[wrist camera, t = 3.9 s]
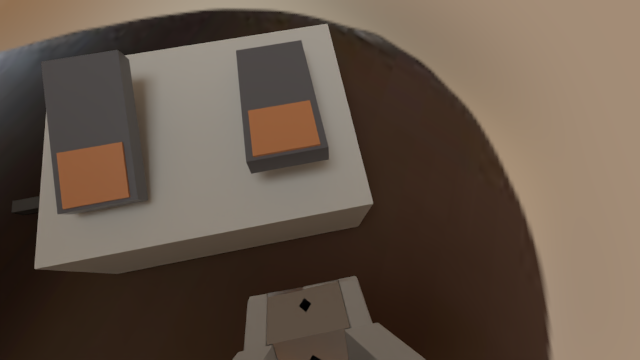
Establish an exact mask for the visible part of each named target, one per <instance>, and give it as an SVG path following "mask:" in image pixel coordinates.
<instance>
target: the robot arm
mask: <svg viewBox="0 0 640 360" xmlns="http://www.w3.org/2000/svg"><path fill="white" fill-rule="evenodd" d="M233 360H426V359H424V358H423V357H422V356H421V355H419V354H418V353H417V352H415V351H414V350H413V349H412V348H410V347H409V346H408V345H406V344H405V343H404V342H403V341H401V340H400V339H399V338H397V337H396V336H395V335H393V334H392V333H391V332H390V331H388V330H387V329H386V328H384V327H383V326H382V325H381V324H379V323H372V320H371V318H370V315H369V312H368V309H367V306H366V303H365V300H364V297H363V294H362V291H361V288H360V285H359V282H358V279H357V277H356V276H351V277H347V278H342V279H338V280H333V281H328V282H323V283H318V284H314V285H309V286H304V287H300V288H295V289H289V290H283V291H278V292H272V293H268V294H263V295H257V296H251V297H250V298H249V300H248V306H247V317H246V329H245V341H244V351H241V352H238V353H237V354H236V355H235V357H234V358H233Z"/></svg>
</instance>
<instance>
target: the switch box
mask: <svg viewBox="0 0 640 360" xmlns="http://www.w3.org/2000/svg"><path fill="white" fill-rule="evenodd" d="M298 40H301V41H302V45H303V49H304V52H305V56H306V60H307V64H308V68H309V72H310V76H311V80H312V84H313V88H314V92H315V96H316V100H317V104H318V107H319V111H320V115H321V119H322V123H323V127H324V131H325V135H326V139H327V143H328V147H329V160H323V161H318V162H313V163H307V164H302V165H296V166H291V167H285V168H280V169H274V170H269V171H263V172H258V173H253V174H251V172H250V170H249V167H248V165H247V163H246V155H245V144H244V133H243V122H242V111H241V101H240V90H239V79H238V68H237V57H236V50H242V49H248V48H255V47H261V46H267V45H273V44H280V43H286V42H292V41H298ZM125 57H127V58H128V59H129V63H130V70H131V77H132V85H133V92H134V99H135V107H136V114H137V121H138V127H139V132H140V135H139V136H140V143H141V150H142V157H143V165H144V172H145V179H146V187H147V194H148V201H143V202H137V203H132V204H126V205H121V206H116V207H110V208H105V209H99V210H94V211H89V212H83V213H78V214H57V205H56V196H55V187H54V178H53V168H52V159H51V150H50V140H49V131H48V122H47V113H46V122H45V135H44V148H43V161H42V175H41V188H40V196H38V197H33V198H27V199H21V200H16V201H13V203H12V212H11V213H15V214H19V215H26V214H31V213H36V212H39V214H38V227H37V240H36V253H35V266H34V269H41V270H58V271H76V272H93V273H110V274H120V273H125V272H130V271H135V270H140V269H145V268H150V267H155V266H160V265H165V264H170V263H175V262H180V261H185V260H191V259H196V258H201V257H206V256H211V255H216V254H221V253H226V252H231V251H236V250H241V249H246V248H251V247H256V246H261V245H266V244H272V243H277V242H282V241H287V240H292V239H297V238H302V237H307V236H312V235H317V234H322V233H327V232H332V231H337V230H342V229H347V228H353V227H358V226H359V225H360V223H361V222H362V220H363V218H364V217H365V215H366V214H367V212H368V211H369V209H370V208H371V206H372V205H373V200H372V197H371V193H370V189H369V185H368V181H367V177H366V173H365V169H364V165H363V161H362V157H361V153H360V150H359V146H358V142H357V138H356V134H355V130H354V126H353V122H352V118H351V114H350V110H349V107H348V103H347V99H346V95H345V91H344V87H343V83H342V79H341V75H340V71H339V67H338V64H337V60H336V56H335V52H334V48H333V44H332V40H331V36H330V32H329V28H328V24H323V25H316V26H310V27H304V28H297V29H291V30H285V31H278V32H272V33H265V34H259V35H253V36H246V37H240V38H234V39H227V40H221V41H214V42H208V43H202V44H195V45H189V46H183V47H176V48H170V49H164V50H157V51H151V52H144V53H138V54H132V55H125Z"/></svg>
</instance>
